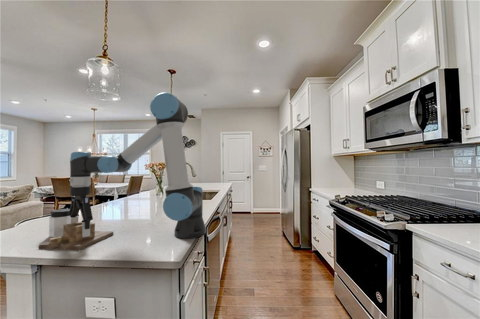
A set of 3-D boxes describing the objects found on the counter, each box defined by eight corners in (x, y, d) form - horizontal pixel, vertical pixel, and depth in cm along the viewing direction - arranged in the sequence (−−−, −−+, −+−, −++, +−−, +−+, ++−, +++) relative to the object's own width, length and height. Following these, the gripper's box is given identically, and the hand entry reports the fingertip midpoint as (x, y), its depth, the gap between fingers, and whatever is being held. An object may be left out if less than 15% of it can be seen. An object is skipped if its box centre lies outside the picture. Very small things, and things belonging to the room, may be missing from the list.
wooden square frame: (86, 233, 105) (86, 220, 106) (94, 236, 100) (94, 223, 100) (47, 241, 94) (47, 227, 94) (53, 246, 88) (54, 231, 89)
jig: (113, 234, 108) (113, 221, 108) (79, 250, 88) (79, 233, 89) (79, 233, 110) (79, 220, 110) (38, 248, 90) (39, 232, 90)
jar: (47, 239, 102) (48, 212, 102) (50, 234, 109) (50, 209, 109) (71, 235, 107) (72, 210, 107) (73, 231, 114) (73, 208, 114)
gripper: (60, 185, 104) (60, 231, 104) (81, 188, 90) (81, 241, 89) (79, 184, 110) (79, 227, 110) (101, 186, 96) (101, 236, 95)
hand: (80, 234), depth 99 cm, fingers open, 13 cm apart
